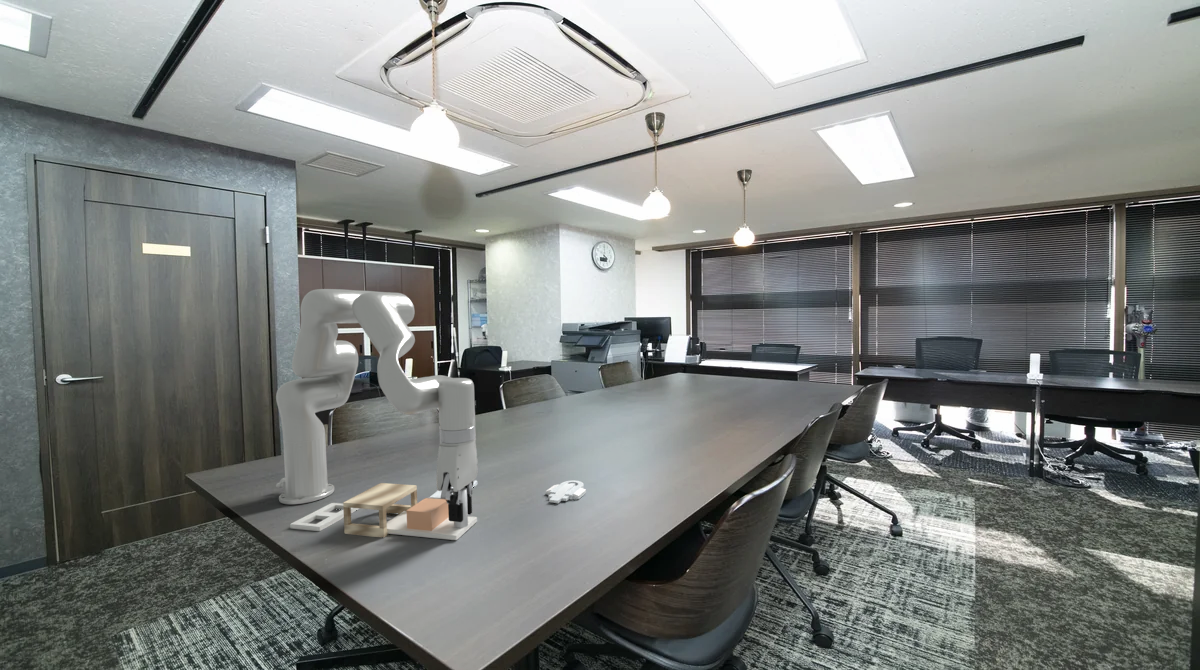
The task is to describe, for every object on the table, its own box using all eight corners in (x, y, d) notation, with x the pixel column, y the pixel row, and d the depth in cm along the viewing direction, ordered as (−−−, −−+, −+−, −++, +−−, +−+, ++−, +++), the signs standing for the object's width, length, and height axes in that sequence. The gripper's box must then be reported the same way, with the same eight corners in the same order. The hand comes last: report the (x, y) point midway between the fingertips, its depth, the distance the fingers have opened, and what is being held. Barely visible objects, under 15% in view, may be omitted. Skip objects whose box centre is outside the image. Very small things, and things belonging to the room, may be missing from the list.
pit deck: (290, 528, 105) (290, 523, 105) (332, 506, 117) (331, 502, 117) (319, 531, 103) (319, 526, 103) (359, 508, 115) (358, 505, 115)
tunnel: (344, 533, 102) (343, 502, 101) (381, 510, 113) (380, 482, 113) (384, 537, 99) (382, 505, 99) (417, 514, 111) (416, 485, 111)
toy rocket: (571, 508, 113) (570, 499, 113) (536, 503, 117) (536, 494, 117) (597, 486, 128) (596, 478, 128) (565, 482, 132) (565, 474, 132)
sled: (378, 532, 101) (376, 492, 101) (404, 515, 110) (402, 477, 110) (456, 540, 97) (455, 498, 97) (477, 521, 106) (475, 482, 106)
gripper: (461, 425, 110) (464, 501, 111) (420, 444, 94) (423, 533, 95) (490, 426, 108) (492, 503, 109) (453, 446, 92) (456, 536, 93)
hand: (460, 516), depth 102 cm, fingers closed on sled, 3 cm apart
